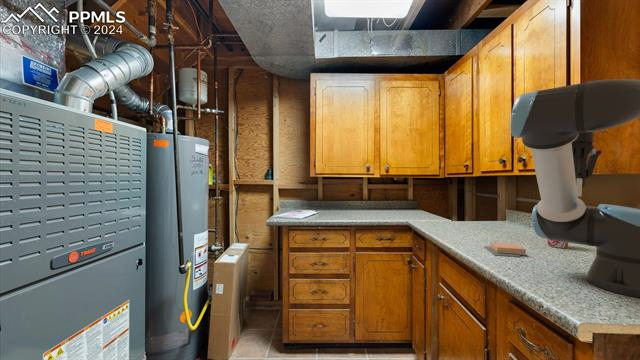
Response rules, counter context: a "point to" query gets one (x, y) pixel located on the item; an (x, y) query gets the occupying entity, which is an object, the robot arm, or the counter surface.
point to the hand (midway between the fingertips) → (576, 195)
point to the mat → (500, 253)
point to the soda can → (557, 244)
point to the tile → (507, 248)
